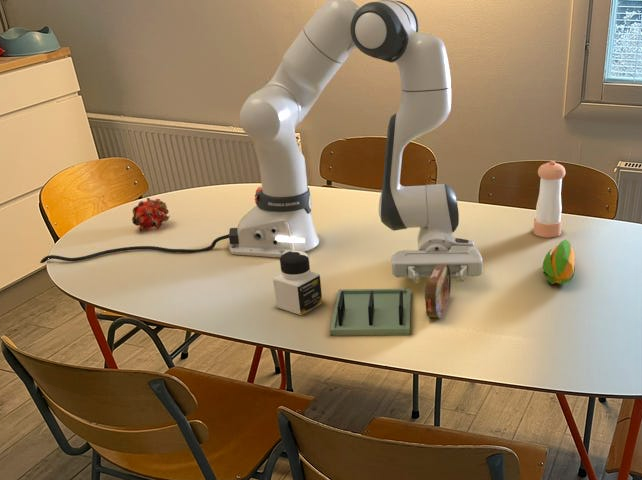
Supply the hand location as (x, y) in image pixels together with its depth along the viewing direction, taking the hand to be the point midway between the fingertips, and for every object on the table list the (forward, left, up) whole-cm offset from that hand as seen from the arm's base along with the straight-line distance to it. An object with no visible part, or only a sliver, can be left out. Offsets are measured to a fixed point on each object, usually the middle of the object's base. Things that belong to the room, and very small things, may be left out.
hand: (437, 278), depth 160 cm
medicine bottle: (-30, -1, -6) cm, 31 cm away
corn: (+29, +14, -6) cm, 32 cm away
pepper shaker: (+30, +40, -6) cm, 50 cm away
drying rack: (-14, -6, -5) cm, 16 cm away
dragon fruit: (-76, +46, -6) cm, 89 cm away
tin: (0, -3, -6) cm, 7 cm away
